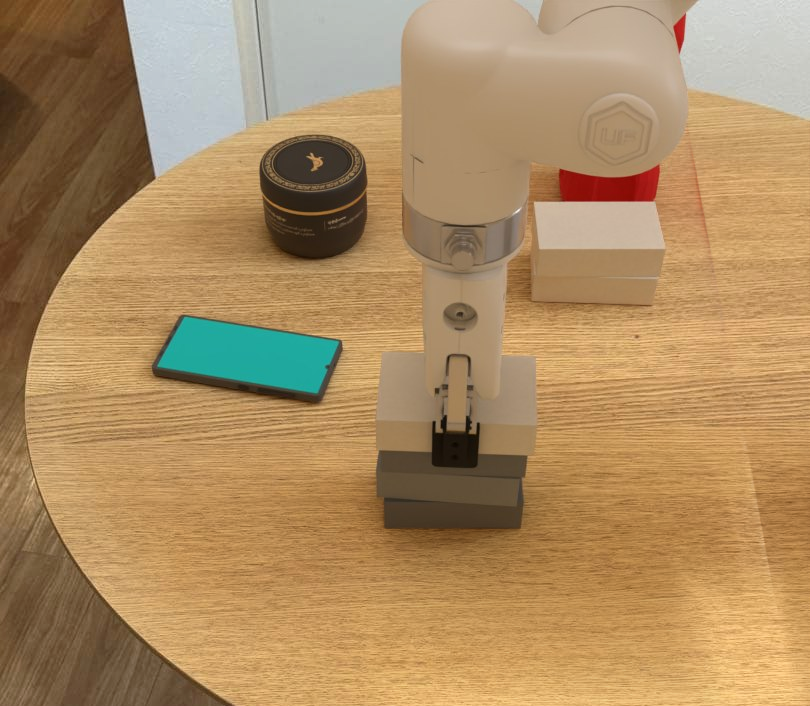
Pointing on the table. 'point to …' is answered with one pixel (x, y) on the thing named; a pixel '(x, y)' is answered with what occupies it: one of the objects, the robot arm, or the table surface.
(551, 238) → the white pile
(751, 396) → the table surface
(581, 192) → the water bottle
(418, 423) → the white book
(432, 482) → the grey pile
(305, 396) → the smartphone
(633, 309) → the table surface
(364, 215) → the jar
